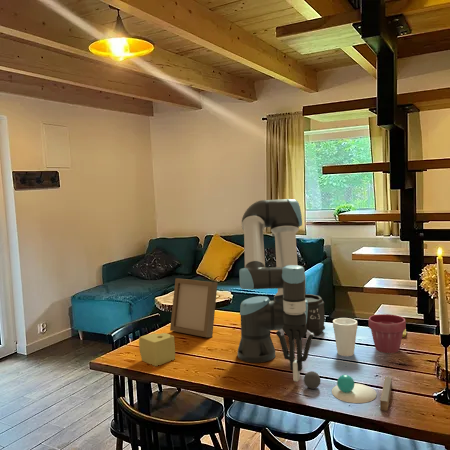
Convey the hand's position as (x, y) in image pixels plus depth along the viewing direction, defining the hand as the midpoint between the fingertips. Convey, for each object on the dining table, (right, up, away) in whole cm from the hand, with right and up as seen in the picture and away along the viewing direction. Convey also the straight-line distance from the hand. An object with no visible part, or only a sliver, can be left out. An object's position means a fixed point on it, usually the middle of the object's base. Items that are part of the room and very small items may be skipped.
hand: (296, 379), depth 158 cm
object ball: (+15, +1, -7) cm, 16 cm away
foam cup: (+24, +1, +27) cm, 36 cm away
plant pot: (+41, +2, +29) cm, 50 cm away
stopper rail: (+27, -2, -11) cm, 29 cm away
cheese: (-51, -2, +28) cm, 58 cm away
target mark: (+17, -2, -7) cm, 19 cm away
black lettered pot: (+12, +3, +56) cm, 57 cm away
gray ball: (+5, +1, -3) cm, 6 cm away
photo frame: (-37, +2, +62) cm, 72 cm away
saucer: (+51, +4, +46) cm, 69 cm away
